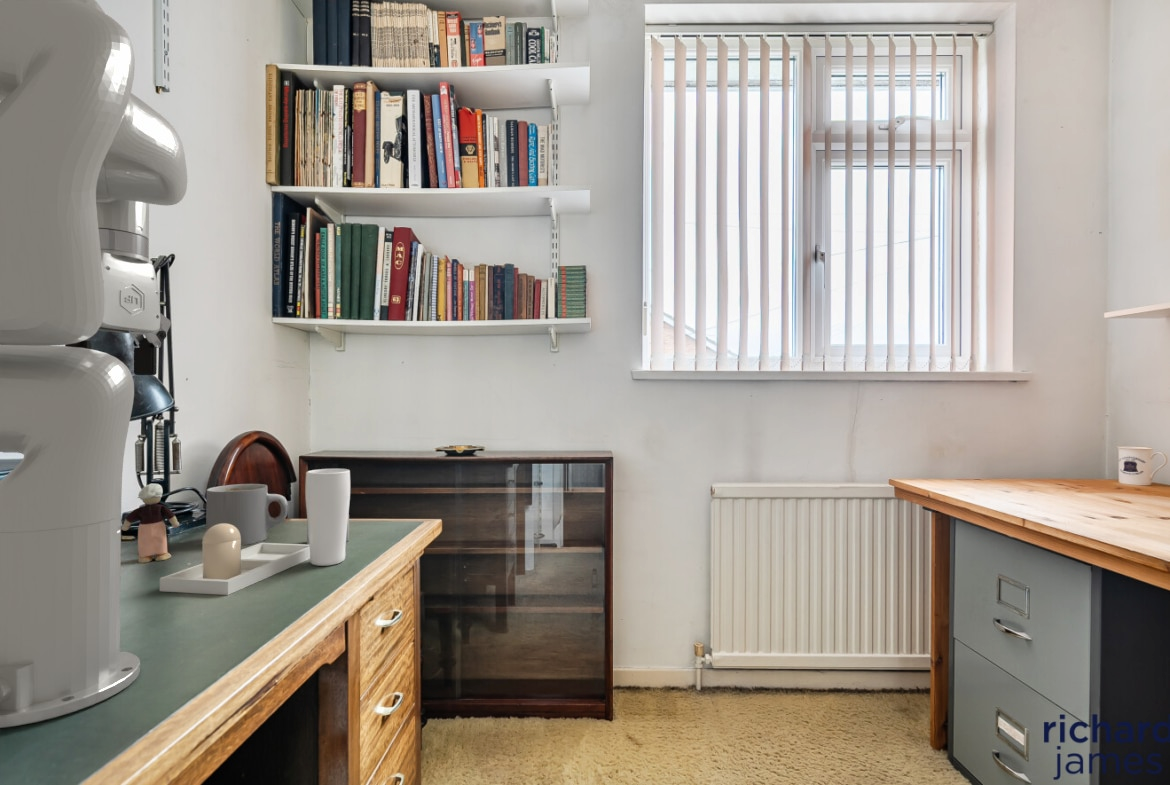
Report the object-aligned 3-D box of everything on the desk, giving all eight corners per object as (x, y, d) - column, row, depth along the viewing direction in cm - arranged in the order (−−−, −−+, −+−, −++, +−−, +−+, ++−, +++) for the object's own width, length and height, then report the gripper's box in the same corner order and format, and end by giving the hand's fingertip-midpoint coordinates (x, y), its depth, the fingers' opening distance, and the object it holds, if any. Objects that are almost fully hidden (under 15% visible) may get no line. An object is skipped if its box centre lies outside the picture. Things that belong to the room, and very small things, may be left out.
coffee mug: (197, 548, 105) (198, 492, 105) (216, 536, 114) (216, 484, 115) (280, 543, 108) (280, 489, 109) (291, 532, 118) (292, 482, 118)
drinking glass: (339, 568, 93) (339, 473, 93) (296, 568, 93) (297, 473, 93) (356, 556, 99) (357, 468, 100) (317, 556, 100) (317, 468, 100)
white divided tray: (228, 594, 80) (228, 581, 80) (159, 591, 82) (159, 578, 82) (317, 555, 100) (317, 544, 100) (261, 553, 102) (261, 542, 102)
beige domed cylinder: (225, 583, 84) (225, 527, 84) (194, 583, 84) (194, 527, 84) (248, 573, 88) (247, 520, 88) (218, 573, 89) (218, 520, 89)
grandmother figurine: (177, 553, 101) (177, 480, 102) (179, 558, 99) (180, 482, 99) (120, 561, 96) (121, 484, 97) (121, 566, 94) (122, 487, 94)
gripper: (74, 230, 72) (73, 370, 71) (190, 262, 89) (189, 375, 89) (22, 232, 73) (21, 370, 73) (146, 264, 90) (145, 376, 90)
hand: (113, 373), depth 81 cm, fingers open, 9 cm apart
